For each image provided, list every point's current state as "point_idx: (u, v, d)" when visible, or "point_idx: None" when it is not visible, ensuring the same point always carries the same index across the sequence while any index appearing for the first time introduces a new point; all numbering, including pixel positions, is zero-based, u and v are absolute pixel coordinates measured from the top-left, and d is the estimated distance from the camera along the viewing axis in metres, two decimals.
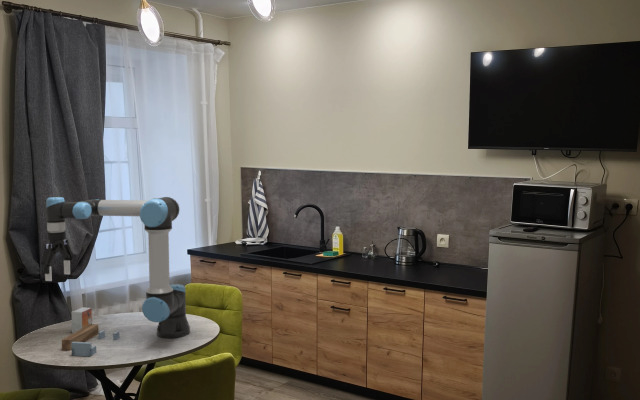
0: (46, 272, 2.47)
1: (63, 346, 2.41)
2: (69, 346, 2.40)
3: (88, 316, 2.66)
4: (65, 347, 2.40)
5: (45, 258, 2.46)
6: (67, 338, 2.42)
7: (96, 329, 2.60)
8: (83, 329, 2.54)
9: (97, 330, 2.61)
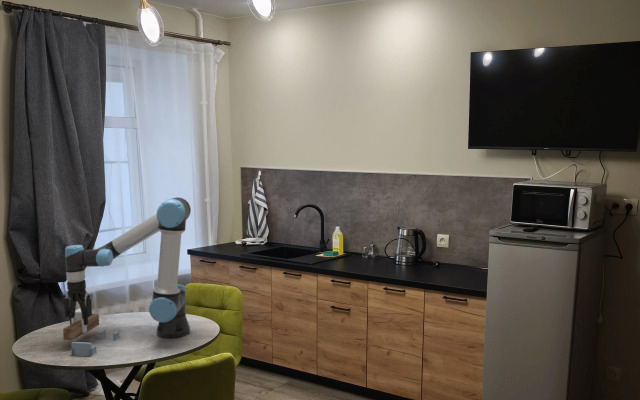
0: None
1: (65, 335, 2.40)
2: (71, 335, 2.40)
3: None
4: (67, 336, 2.40)
5: None
6: (68, 327, 2.41)
7: (96, 319, 2.59)
8: None
9: (97, 320, 2.60)
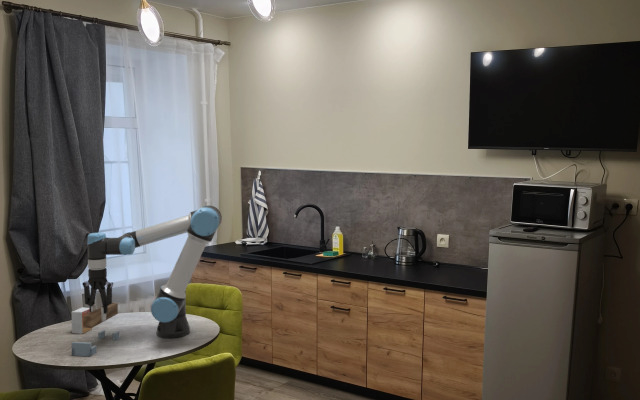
0: None
1: (84, 323, 2.39)
2: (91, 323, 2.38)
3: None
4: (87, 323, 2.38)
5: None
6: (88, 315, 2.40)
7: (115, 308, 2.58)
8: None
9: (116, 309, 2.59)
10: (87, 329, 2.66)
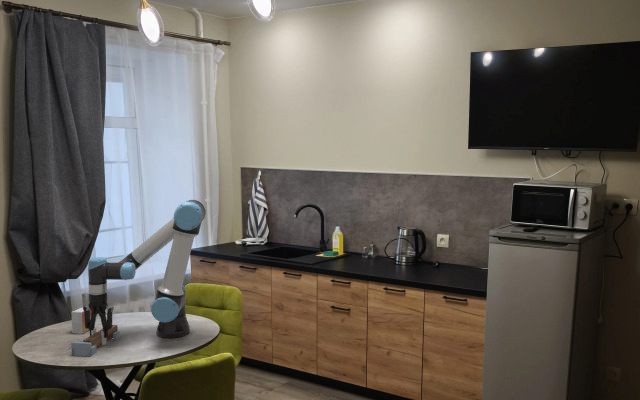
0: None
1: None
2: None
3: None
4: None
5: None
6: (88, 339, 2.41)
7: (115, 330, 2.58)
8: None
9: None
10: (87, 329, 2.66)
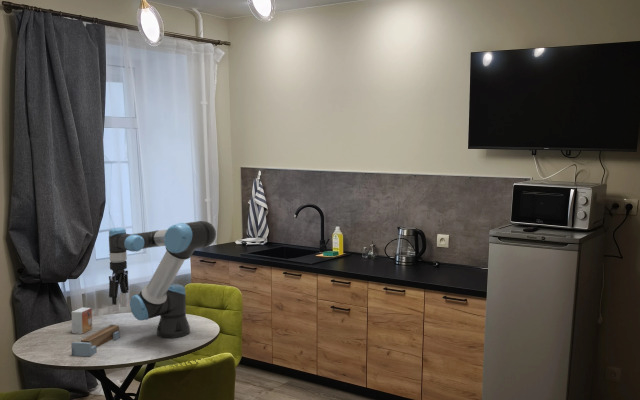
0: (114, 303, 2.60)
1: None
2: None
3: (88, 316, 2.66)
4: None
5: (112, 290, 2.58)
6: (86, 339, 2.41)
7: (116, 330, 2.58)
8: (103, 330, 2.53)
9: None
10: (87, 329, 2.66)
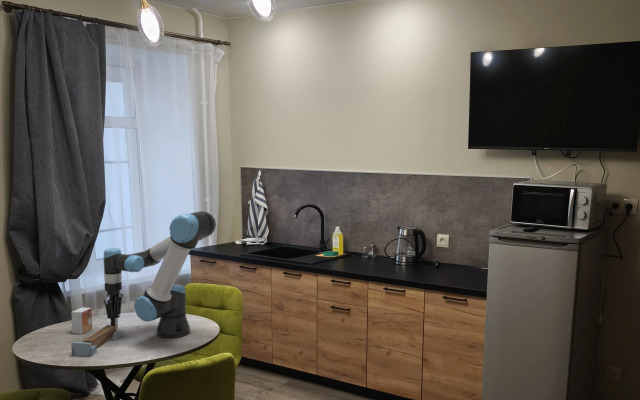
0: (112, 324, 2.59)
1: None
2: None
3: (88, 316, 2.66)
4: None
5: (109, 312, 2.56)
6: (88, 339, 2.40)
7: (113, 330, 2.58)
8: (102, 330, 2.52)
9: (114, 331, 2.59)
10: (87, 329, 2.66)
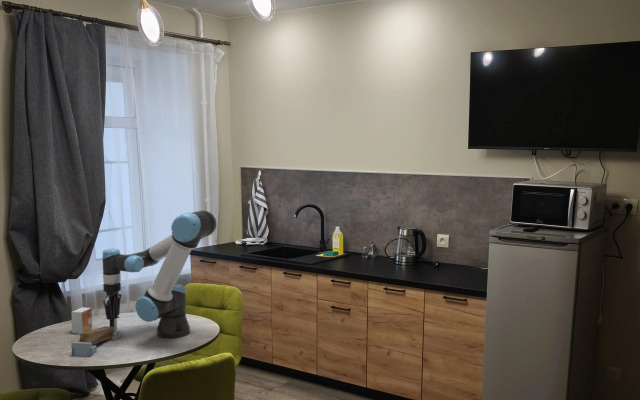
0: (111, 325, 2.58)
1: (81, 340, 2.36)
2: (87, 340, 2.36)
3: (88, 316, 2.66)
4: (83, 341, 2.36)
5: (109, 313, 2.55)
6: (85, 332, 2.38)
7: (111, 331, 2.56)
8: (99, 328, 2.50)
9: (112, 332, 2.57)
10: (87, 329, 2.66)
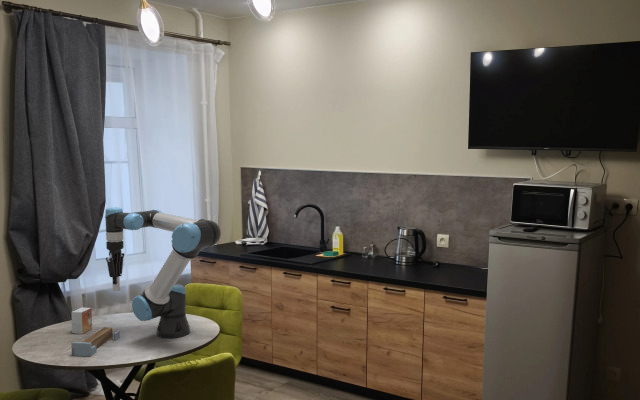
0: (114, 282, 2.60)
1: None
2: None
3: (88, 316, 2.66)
4: None
5: (111, 270, 2.57)
6: None
7: (110, 332, 2.55)
8: (98, 332, 2.49)
9: (111, 333, 2.56)
10: (87, 329, 2.66)
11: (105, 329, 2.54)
